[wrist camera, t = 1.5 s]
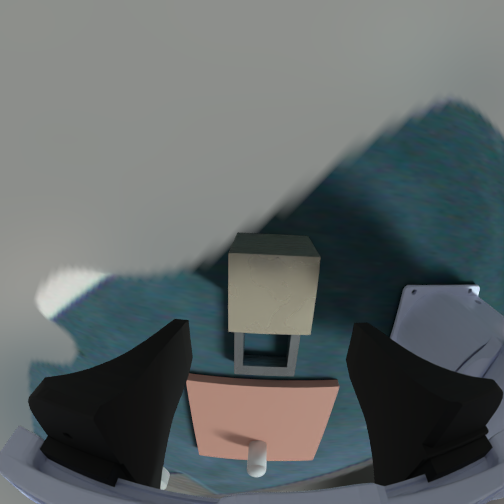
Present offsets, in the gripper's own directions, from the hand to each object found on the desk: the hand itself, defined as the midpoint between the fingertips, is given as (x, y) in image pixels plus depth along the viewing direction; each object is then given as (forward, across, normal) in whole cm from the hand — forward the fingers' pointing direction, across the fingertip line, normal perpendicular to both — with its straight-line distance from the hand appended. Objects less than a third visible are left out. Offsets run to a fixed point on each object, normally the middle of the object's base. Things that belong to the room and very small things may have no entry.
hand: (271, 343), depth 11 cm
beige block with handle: (+9, 0, +4) cm, 10 cm away
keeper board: (+9, 0, +18) cm, 20 cm away
